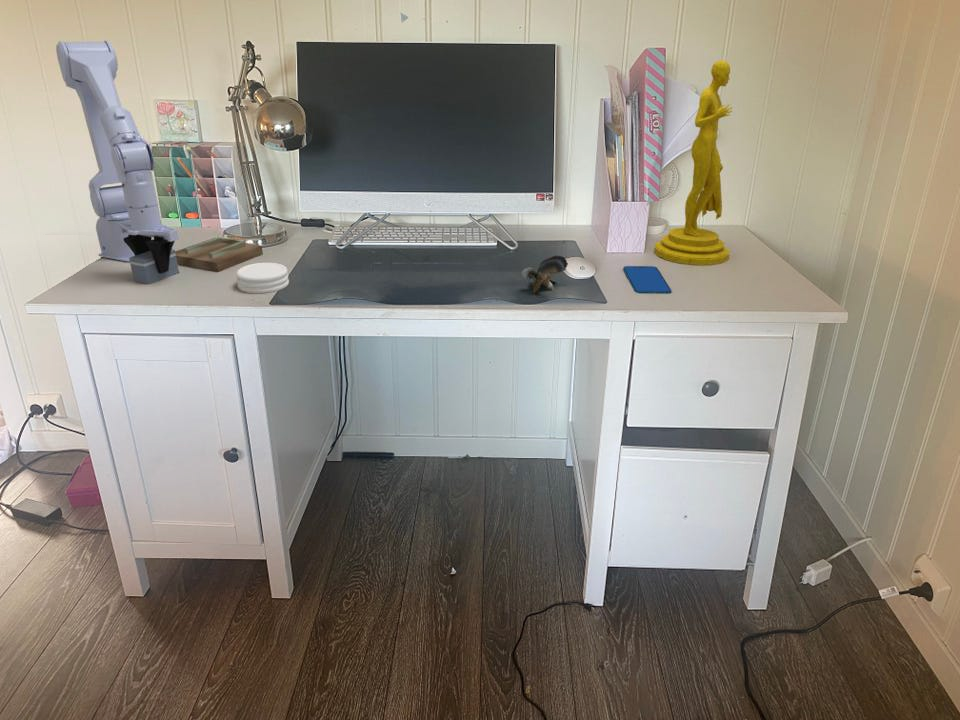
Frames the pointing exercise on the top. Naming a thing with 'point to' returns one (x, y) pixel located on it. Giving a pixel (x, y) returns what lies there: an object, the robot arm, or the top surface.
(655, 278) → the smartphone
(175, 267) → the blue-grey lidded box
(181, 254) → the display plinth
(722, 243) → the statue
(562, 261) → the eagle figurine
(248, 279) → the white short ridged cylinder
